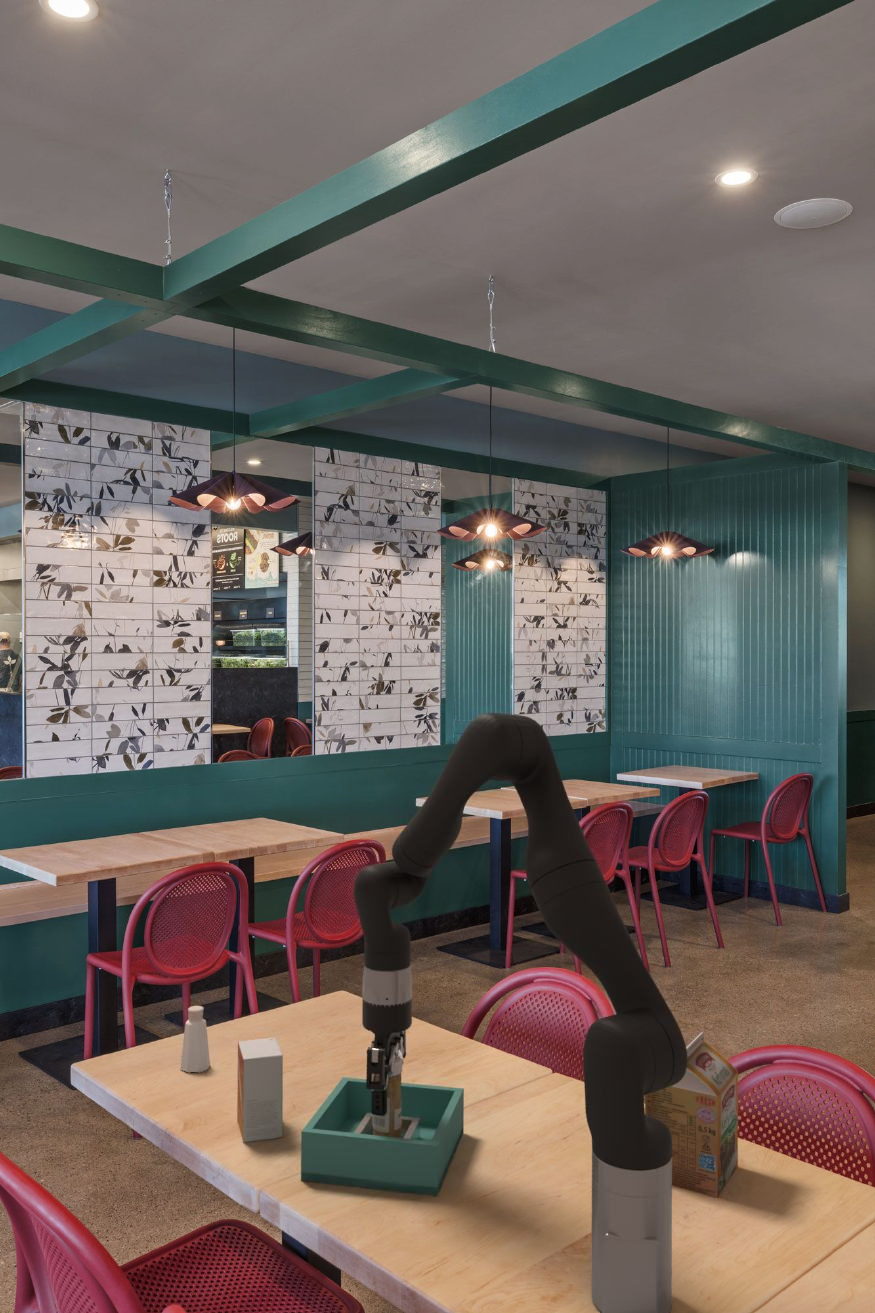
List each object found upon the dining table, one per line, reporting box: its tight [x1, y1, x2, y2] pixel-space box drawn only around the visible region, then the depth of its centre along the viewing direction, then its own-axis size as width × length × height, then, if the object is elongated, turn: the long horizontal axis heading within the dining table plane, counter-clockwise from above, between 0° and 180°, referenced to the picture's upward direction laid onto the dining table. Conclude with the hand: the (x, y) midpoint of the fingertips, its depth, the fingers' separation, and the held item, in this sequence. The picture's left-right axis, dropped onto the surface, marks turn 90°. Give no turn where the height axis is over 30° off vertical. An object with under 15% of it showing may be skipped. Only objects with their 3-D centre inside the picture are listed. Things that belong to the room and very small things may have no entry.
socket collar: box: [354, 1113, 421, 1140], centre depth 154 cm, size 9×9×3 cm
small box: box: [236, 1037, 284, 1143], centre depth 162 cm, size 8×6×13 cm
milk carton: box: [644, 1031, 739, 1199], centre depth 149 cm, size 11×11×19 cm
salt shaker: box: [179, 1005, 211, 1074], centre depth 187 cm, size 5×5×11 cm
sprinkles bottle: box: [373, 1055, 403, 1138], centre depth 154 cm, size 5×5×14 cm
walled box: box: [300, 1076, 465, 1197], centre depth 154 cm, size 20×20×7 cm
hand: (386, 1102), depth 154 cm, fingers open, 8 cm apart
